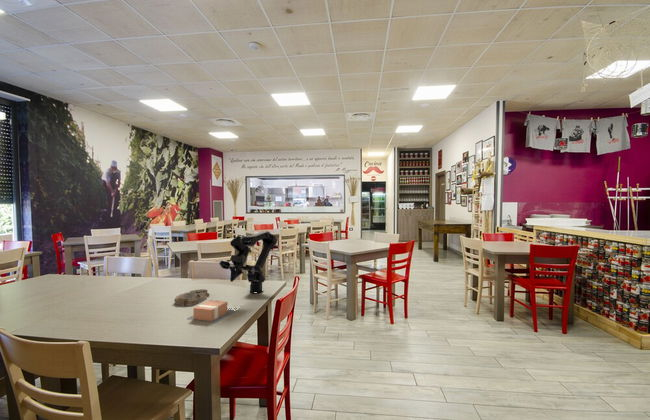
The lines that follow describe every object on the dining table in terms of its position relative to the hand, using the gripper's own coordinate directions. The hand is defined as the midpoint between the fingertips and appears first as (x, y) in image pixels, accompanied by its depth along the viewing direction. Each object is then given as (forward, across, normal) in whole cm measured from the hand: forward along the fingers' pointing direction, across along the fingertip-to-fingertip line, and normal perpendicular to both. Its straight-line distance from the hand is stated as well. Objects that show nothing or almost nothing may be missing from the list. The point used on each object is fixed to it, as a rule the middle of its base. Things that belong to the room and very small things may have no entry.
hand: (231, 281), depth 153 cm
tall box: (+14, +1, -4) cm, 15 cm away
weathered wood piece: (+10, -21, +13) cm, 27 cm away
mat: (+18, +1, -4) cm, 18 cm away
